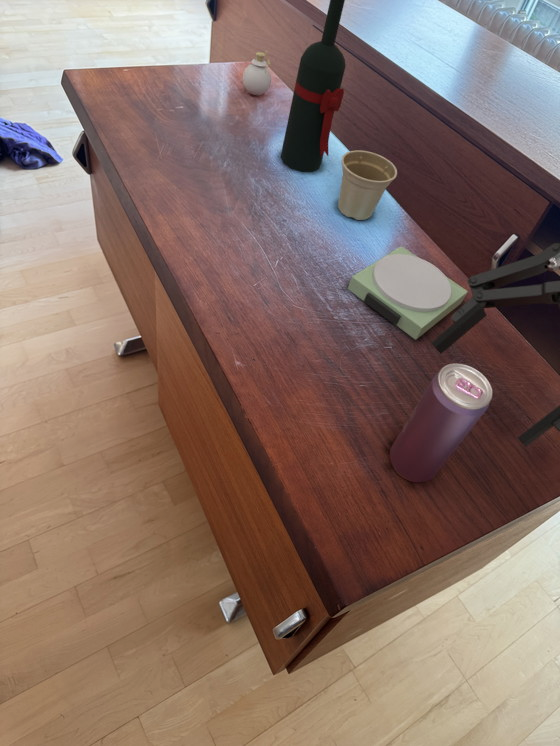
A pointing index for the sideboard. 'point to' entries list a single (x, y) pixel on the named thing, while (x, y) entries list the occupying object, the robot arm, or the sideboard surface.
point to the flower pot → (363, 182)
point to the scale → (407, 291)
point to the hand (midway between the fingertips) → (476, 393)
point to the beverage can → (440, 421)
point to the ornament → (257, 76)
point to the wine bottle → (315, 98)
